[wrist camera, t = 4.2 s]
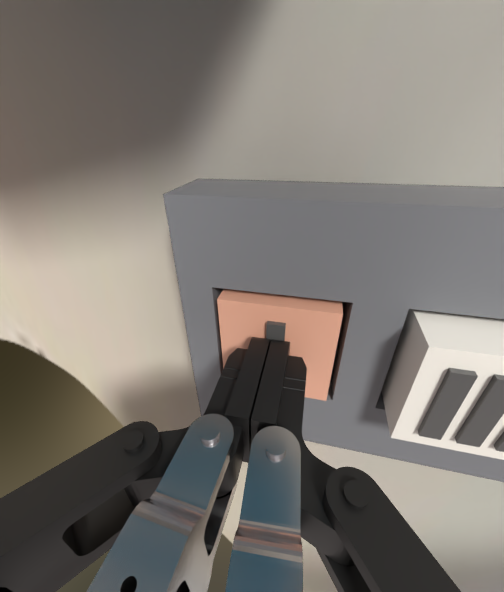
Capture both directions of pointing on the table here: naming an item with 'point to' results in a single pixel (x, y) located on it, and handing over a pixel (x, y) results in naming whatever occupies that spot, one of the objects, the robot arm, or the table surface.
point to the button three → (448, 383)
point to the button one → (284, 329)
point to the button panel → (342, 283)
